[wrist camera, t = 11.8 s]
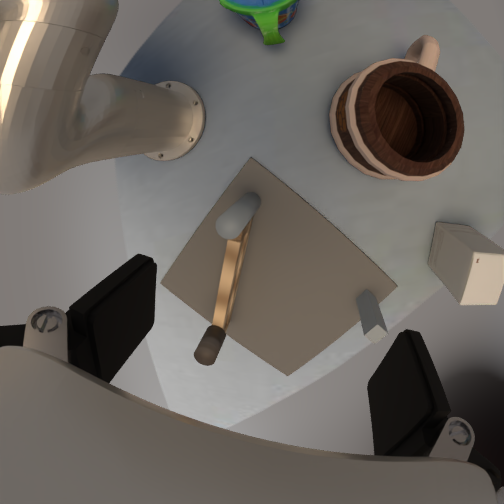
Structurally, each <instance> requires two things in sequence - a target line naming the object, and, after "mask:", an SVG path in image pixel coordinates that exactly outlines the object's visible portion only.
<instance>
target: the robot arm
mask: <svg viewBox="0 0 504 504" xmlns="http://www.w3.org/2000/svg"><path fill="white" fill-rule="evenodd" d="M118 6H119V4H118V0H0V194H1V195H10V194H17V193H21V192H25V191H27V190H30V189H33V188H35V187H38V186H40V185H42V184H44V183H46V182H47V181H49V180H51V179H53V178H54V177H56V176H58V175H60V174H61V173H63V172H65V171H67V170H69V169H71V168H74V167H76V166H79V165H83V164H86V163H90V162H95V161H100V160H106V159H112V158H118V157H124V156H131V155H137V154H144V155H146V156H147V157H149V158H152V159H154V160H159V161H168V160H173V159H177V158H179V157H182V156H183V155H185V154H187V153H188V152H189V151H190V150H191V149H192V148H194V146H195V145H196V144H197V142H198V141H199V139H200V137H201V135H202V133H203V130H204V126H205V109H204V105H203V102H202V100H201V98H200V96H199V95H198V94H197V92H196V91H195V90H194V89H192V88H191V87H190V86H188V85H186V84H184V83H181V82H177V81H164V82H161V83H157V84H155V85H152V84H149V83H145V82H141V81H137V80H133V79H129V78H125V77H121V76H116V75H111V74H94V75H90V73H91V71H92V68H93V66H94V63H95V61H96V59H97V57H98V55H99V52H100V50H101V48H102V46H103V44H104V42H105V40H106V37H107V36H108V34H109V32H110V30H111V28H112V25H113V23H114V21H115V19H116V16H117V12H118ZM170 85H171V87H170ZM197 102H198V105H196V103H197ZM192 138H194V141H192ZM162 154H163V156H162ZM156 274H157V264H156V263H154V261H153V258H151V257H148V256H145V255H142V254H137V255H135V256H134V257H133V258H131V259H130V260H129V261H127V262H126V263H125V264H123V265H122V266H121V267H119V268H118V269H117V270H115V271H114V272H113V273H112V274H110V275H109V276H107V277H106V278H105V279H104V280H102V281H101V282H100V283H99V284H97V285H96V286H95V287H93V288H92V289H91V290H90V291H88V292H87V293H86V294H85V295H83V296H82V297H81V298H80V299H79V300H77V301H76V302H75V303H73V304H72V305H71V306H70V307H69V310H68V311H67V312H66V313H64V311H62V310H61V309H59V308H56V307H50V306H49V307H48V306H47V307H41V308H39V309H36V310H35V311H33V312H32V313H31V314H30V315H29V317H28V319H27V323H26V324H23V325H9V326H0V504H504V488H503V487H502V488H500V485H501V473H500V471H499V469H497V467H496V466H495V465H493V464H492V463H491V462H490V461H489V460H487V459H486V458H485V457H484V456H482V455H481V454H480V453H479V452H478V451H476V450H475V449H474V448H473V447H472V446H473V443H474V439H475V438H474V432H473V430H472V428H471V426H470V425H469V424H468V423H467V422H466V421H465V420H463V419H461V418H458V417H453V418H451V419H448V418H447V415H448V414H449V413H450V412H451V409H450V406H449V404H448V401H447V398H446V395H445V392H444V389H443V387H442V384H441V381H440V379H439V376H438V374H437V371H436V369H435V366H434V364H433V361H432V359H431V357H430V354H429V352H428V350H427V347H426V345H425V343H424V340H423V338H422V336H421V334H420V332H417V331H412V330H408V329H406V330H404V332H400V333H399V334H398V336H397V338H396V339H395V341H394V343H393V345H392V346H391V348H390V349H389V351H388V352H387V354H386V356H385V357H384V359H383V360H382V362H381V364H380V365H379V367H378V368H377V370H376V371H375V373H374V374H373V376H372V377H371V378H370V380H369V382H368V386H367V390H368V397H369V405H370V413H371V422H372V431H373V443H374V455H360V454H349V453H339V452H331V451H324V450H317V449H310V448H304V447H298V446H293V445H287V444H282V443H278V442H272V441H268V440H264V439H260V438H255V437H252V436H247V435H244V434H240V433H236V432H233V431H229V430H226V429H223V428H219V427H216V426H213V425H210V424H207V423H204V422H201V421H198V420H195V419H192V418H189V417H186V416H183V415H181V414H178V413H175V412H173V411H170V410H168V409H165V408H162V407H160V406H157V405H155V404H153V403H150V402H148V401H146V400H143V399H141V398H139V397H137V396H135V395H132V394H130V393H128V392H126V391H123V390H121V389H119V388H117V387H115V386H113V385H111V384H109V383H110V381H111V380H112V379H113V378H114V376H115V374H116V373H117V372H118V371H119V370H120V368H121V367H122V366H123V364H124V363H125V362H126V360H127V359H128V358H129V356H130V355H131V354H132V353H133V351H134V350H135V349H136V348H137V346H138V345H139V344H140V342H141V341H142V340H143V339H144V337H145V336H146V335H147V333H148V332H149V331H150V330H151V328H152V326H153V324H154V317H155V291H156ZM499 488H500V489H499Z"/></svg>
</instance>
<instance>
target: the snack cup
mask: <svg viewBox="0 0 504 504" xmlns="http://www.w3.org/2000/svg"><path fill="white" fill-rule="evenodd" d="M219 1H220V4H221V5H222V6H223V7H225V8H226V9H229V10H231V11H233V12H235V13H237V14H238V15H239V16H240V17H241V18H243V19H244V20H245V21H246V22H247V23H248V24H250V25H252V26H253V27H255V28H258V29H260V30H261V33H262V35H263V37H264V42H263V44H265V45H273V44H279V43H283V42H285V40H284V39H283V38H282V37H281V35H280V33H279V32H278V28H281V27H283V26H285V25H287V24H289V23H290V22H291V20H292V19H293V18H294V16H295V13H296V10H297V5H298V1H299V0H219Z"/></svg>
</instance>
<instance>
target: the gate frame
mask: <svg viewBox="0 0 504 504" xmlns="http://www.w3.org/2000/svg"><path fill="white" fill-rule="evenodd" d="M260 206H261V198H260V197H259V195H258V194H256V193H254V192H249V193H246V194H245V195H244V196H243V197H242V198H240V199H239V200H238V201H237V202H236V203H234V204H233V205H232V206H231V207H230V208H229V209H227V210H226V211H225V212H224V213H223V214H222V215H221V216H219V217H218V219H217V221H216V230H217V232H218V234H219V235H220V236H221V237H223V238H225V239H234V238H236V237H238V236H239V235H240V233H241V232H242V230H243V229H244V228H245V226H246V225H247V224H248V222H249V221H250V220H251V218H252V217H253V215H254V214H255V213H256V211H257V210H258V209H259V207H260ZM356 302H357V306H358V310H359V314H360V319H361V323H362V328H363V332H364V336H366V337H367V338H368V339H369V340H370V341H372V342H373V343H374V344H375V343H377V342H378V341H379V340H381V339H382V338H383V337H384V336H386V335H387V334H388V331H387V328H386V325H385V322H384V319H383V316H382V313H381V311H380V308H379V305H378V302H377V299H376V297H375V296H374V295H373V294H371V293H370V292H369V291H368V290H367V289H366V290H365V291H364V292H363V293H362V294H361V295H360V296H358V297H357V298H356Z"/></svg>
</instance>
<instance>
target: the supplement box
mask: <svg viewBox="0 0 504 504" xmlns="http://www.w3.org/2000/svg"><path fill="white" fill-rule="evenodd" d="M428 265H429V267H430V268H431V269H432V270H433V271H434V273H435V274H436V275H437V276H438V278H439V279H440V280H441V281H442V282H443V284H444V285H445V286H446V287H447V289H448V290H449V291H450V292H451V294H452V295H453V296H454V297H455V299H456V300H457V302H458V303H459V304H460V305H495V304H497V301H498V299H499V296H500V293H501V290H502V287H503V284H504V249H502V248H501V247H500V246H498V245H497V244H495V243H494V242H492V241H491V240H490V239H488V238H487V237H485V236H484V235H482V234H481V233H479V232H478V231H476V230H475V229H473V228H472V227H470V226H466V225H458V224H450V223H441V222H436V225H435V231H434V236H433V241H432V246H431V251H430V256H429V261H428Z"/></svg>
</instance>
